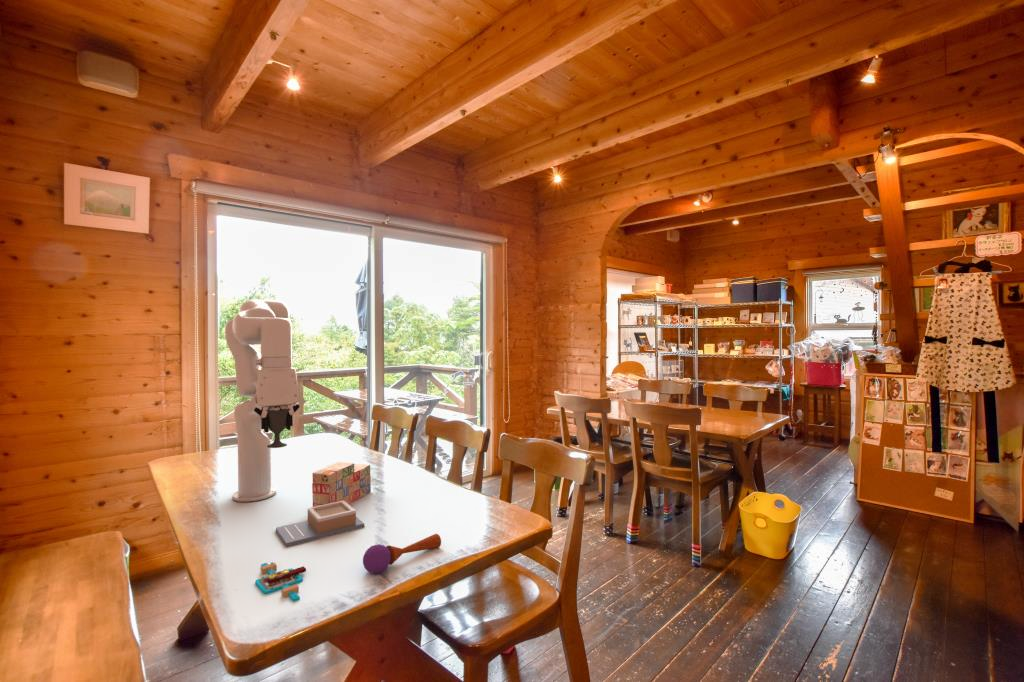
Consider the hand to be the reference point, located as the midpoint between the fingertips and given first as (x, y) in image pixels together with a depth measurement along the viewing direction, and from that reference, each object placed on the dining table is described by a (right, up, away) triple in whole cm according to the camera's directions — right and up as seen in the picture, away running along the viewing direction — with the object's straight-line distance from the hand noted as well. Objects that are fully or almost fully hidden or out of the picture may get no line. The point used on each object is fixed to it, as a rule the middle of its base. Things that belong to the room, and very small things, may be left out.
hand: (277, 429), depth 129 cm
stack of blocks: (+10, -27, +23) cm, 37 cm away
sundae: (0, -5, 0) cm, 5 cm away
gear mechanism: (+14, -29, -26) cm, 41 cm away
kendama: (+38, -28, -16) cm, 50 cm away
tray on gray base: (+11, -27, +1) cm, 30 cm away
